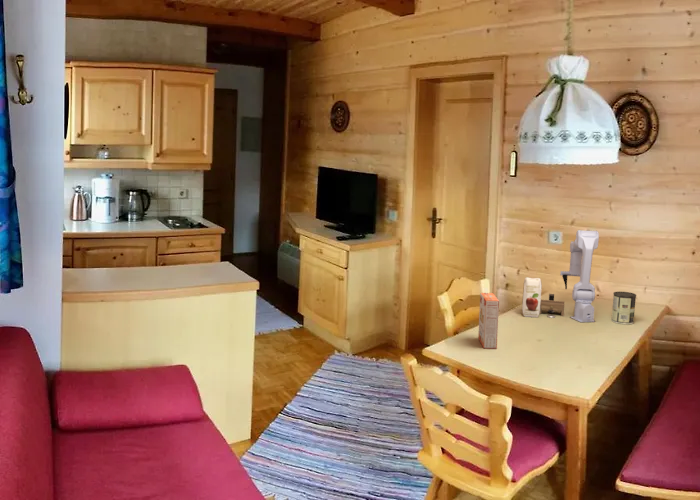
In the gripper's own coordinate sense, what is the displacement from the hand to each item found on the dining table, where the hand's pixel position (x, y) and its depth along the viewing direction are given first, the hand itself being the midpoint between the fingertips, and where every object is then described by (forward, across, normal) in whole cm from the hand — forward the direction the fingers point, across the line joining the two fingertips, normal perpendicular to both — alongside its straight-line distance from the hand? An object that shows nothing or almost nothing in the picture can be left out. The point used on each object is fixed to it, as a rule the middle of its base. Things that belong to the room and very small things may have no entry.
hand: (573, 289), depth 351 cm
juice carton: (+10, +20, +28) cm, 36 cm away
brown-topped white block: (+10, +11, +10) cm, 18 cm away
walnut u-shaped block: (+9, +11, +19) cm, 24 cm away
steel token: (+10, +11, +27) cm, 30 cm away
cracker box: (+10, +36, +85) cm, 93 cm away
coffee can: (+10, -23, +22) cm, 33 cm away
